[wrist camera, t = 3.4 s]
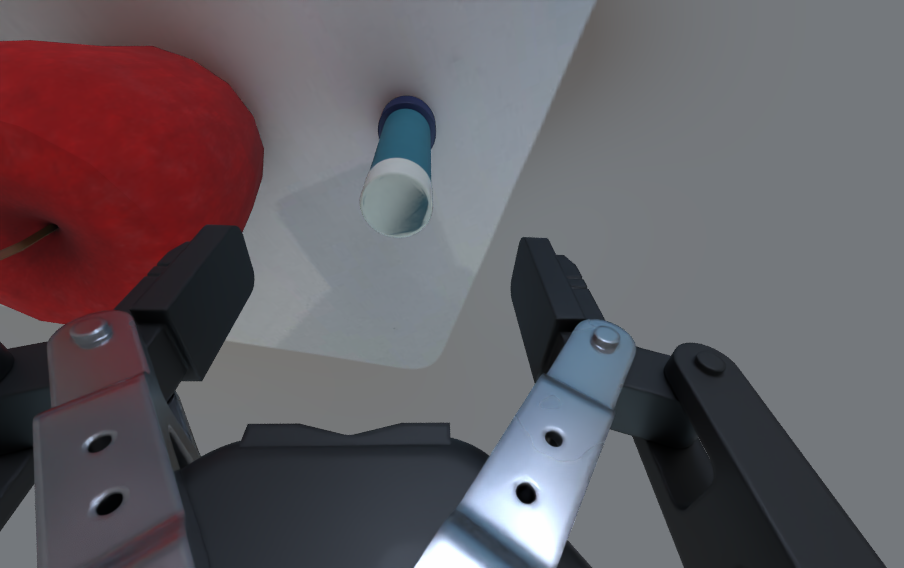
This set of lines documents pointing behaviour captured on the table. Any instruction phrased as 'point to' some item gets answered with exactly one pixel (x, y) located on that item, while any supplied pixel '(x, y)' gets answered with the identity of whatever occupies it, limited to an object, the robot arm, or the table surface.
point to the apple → (111, 169)
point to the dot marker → (401, 170)
